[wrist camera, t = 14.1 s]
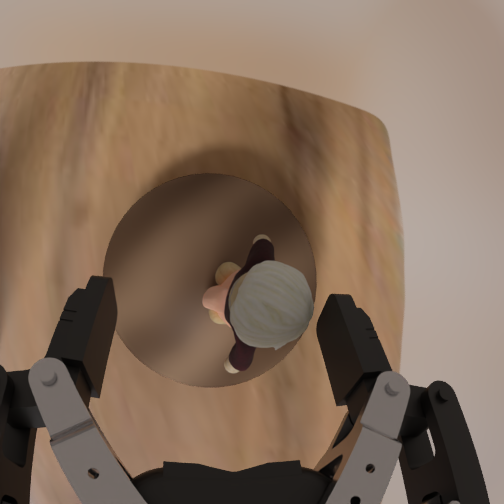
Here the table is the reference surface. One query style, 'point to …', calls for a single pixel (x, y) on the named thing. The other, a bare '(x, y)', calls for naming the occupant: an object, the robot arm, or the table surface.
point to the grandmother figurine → (259, 303)
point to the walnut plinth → (195, 272)
